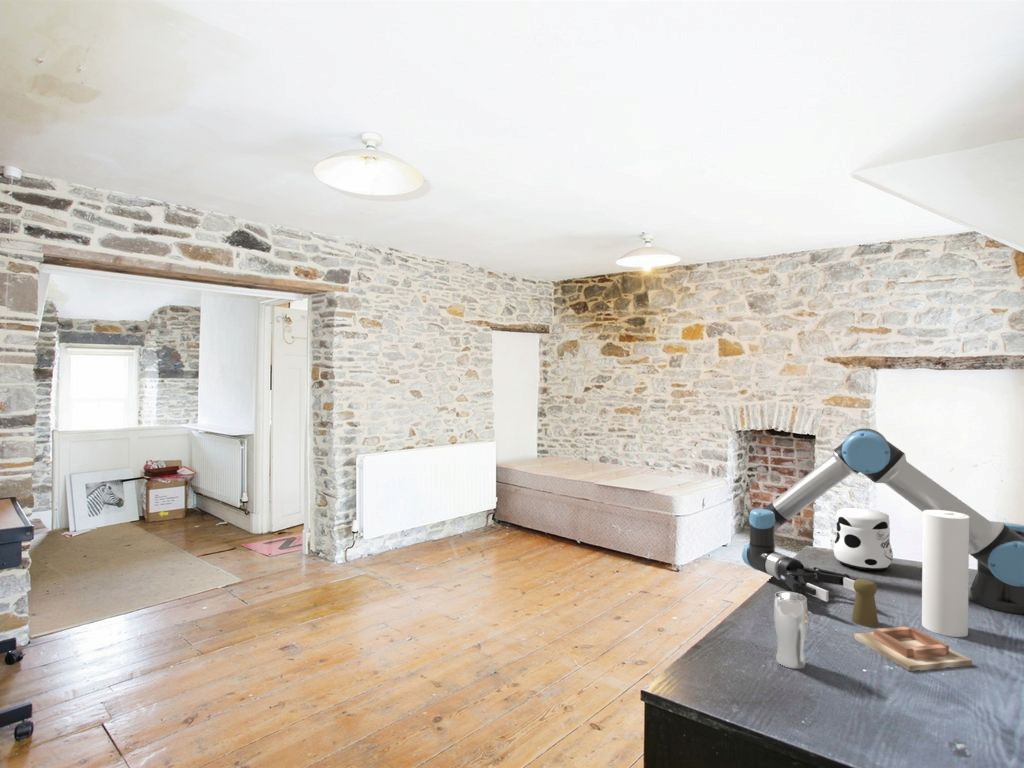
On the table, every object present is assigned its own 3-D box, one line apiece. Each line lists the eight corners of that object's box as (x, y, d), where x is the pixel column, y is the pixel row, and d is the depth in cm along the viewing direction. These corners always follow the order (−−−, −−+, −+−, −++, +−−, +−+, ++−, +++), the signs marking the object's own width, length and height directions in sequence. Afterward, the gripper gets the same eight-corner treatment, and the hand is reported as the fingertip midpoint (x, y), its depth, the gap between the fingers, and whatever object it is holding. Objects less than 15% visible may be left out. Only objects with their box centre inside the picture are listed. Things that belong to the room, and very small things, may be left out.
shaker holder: (910, 633, 142) (910, 620, 142) (971, 665, 127) (971, 651, 127) (854, 638, 140) (854, 625, 140) (909, 671, 124) (909, 657, 124)
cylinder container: (976, 638, 140) (978, 517, 139) (934, 635, 141) (935, 515, 141) (954, 622, 149) (955, 508, 149) (914, 619, 151) (915, 507, 150)
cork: (876, 619, 151) (876, 578, 151) (880, 628, 145) (880, 585, 145) (850, 615, 153) (850, 575, 153) (853, 624, 148) (853, 582, 148)
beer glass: (794, 673, 124) (794, 604, 123) (766, 659, 130) (766, 594, 130) (814, 665, 127) (814, 598, 127) (786, 652, 133) (787, 588, 133)
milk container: (904, 574, 186) (905, 519, 185) (851, 574, 186) (851, 519, 186) (872, 557, 203) (872, 507, 203) (823, 557, 203) (823, 507, 203)
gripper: (816, 576, 178) (880, 600, 158) (752, 585, 170) (810, 613, 150) (816, 552, 178) (880, 574, 158) (752, 560, 170) (810, 585, 150)
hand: (846, 593), depth 154 cm, fingers open, 13 cm apart
